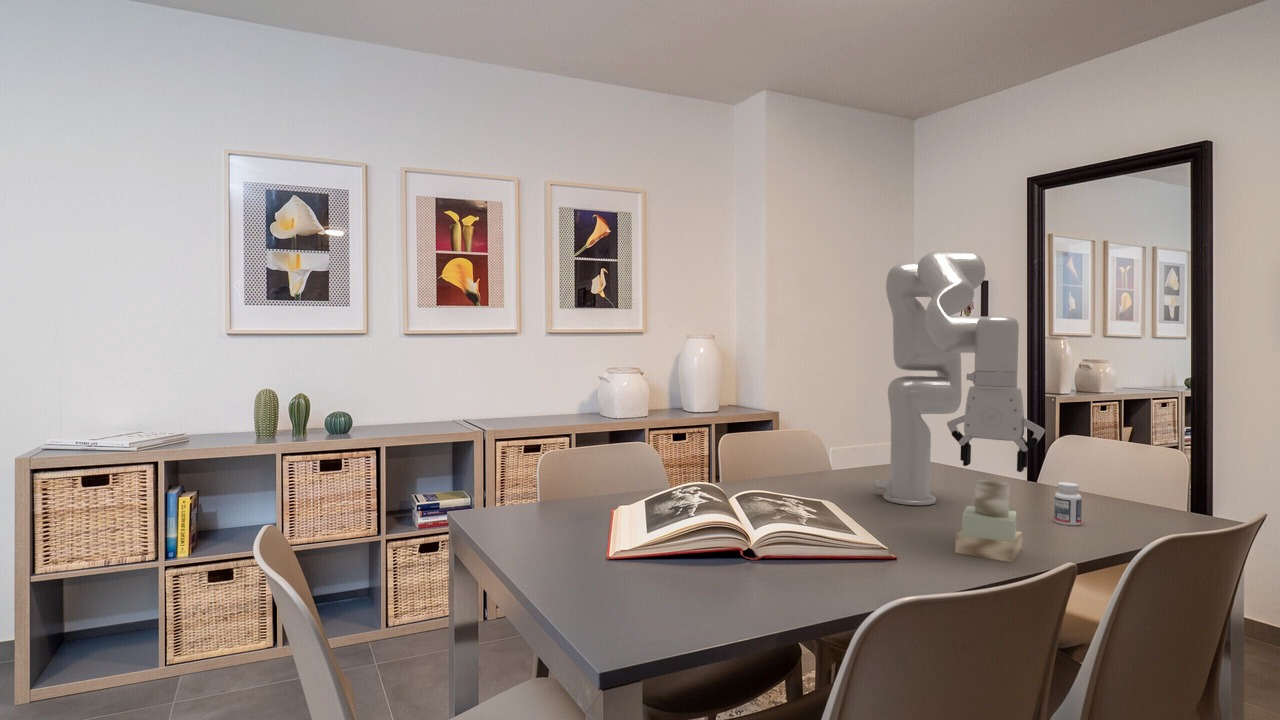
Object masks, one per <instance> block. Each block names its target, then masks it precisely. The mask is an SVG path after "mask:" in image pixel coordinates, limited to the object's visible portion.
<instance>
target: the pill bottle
mask: <svg viewBox="0 0 1280 720" xmlns="http://www.w3.org/2000/svg"><path fill="white" fill-rule="evenodd" d="M1057 489H1058V491H1057V492H1055V494H1054V508H1053V509H1054V515H1053V516H1054V517H1053V518H1054V519H1053V520H1054V522H1055V523H1056V524H1059V525H1064V526H1079V525H1081V524H1082V505H1083V503H1082V501H1083V499H1082V495H1081V494H1080V493H1078V492H1079V484H1077V483H1076V482H1075V483H1074V482H1067V481H1066V482H1065V481H1062V482H1061V481H1060V482H1058V484H1057Z"/></svg>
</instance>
